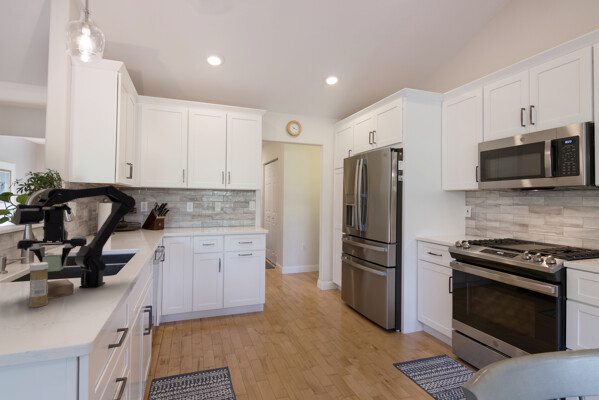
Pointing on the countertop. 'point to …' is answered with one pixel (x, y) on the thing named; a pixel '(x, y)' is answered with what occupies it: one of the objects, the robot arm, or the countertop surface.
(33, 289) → the sprinkles bottle
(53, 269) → the sage green cube
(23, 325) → the countertop surface
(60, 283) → the walnut block
